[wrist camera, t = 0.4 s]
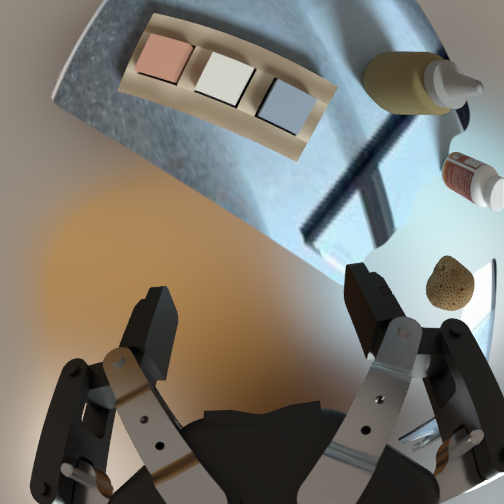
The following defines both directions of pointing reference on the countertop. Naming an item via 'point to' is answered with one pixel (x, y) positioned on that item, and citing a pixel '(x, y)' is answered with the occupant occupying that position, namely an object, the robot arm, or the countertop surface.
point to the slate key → (287, 106)
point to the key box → (243, 117)
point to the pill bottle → (474, 180)
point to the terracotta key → (164, 58)
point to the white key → (224, 78)
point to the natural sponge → (450, 285)
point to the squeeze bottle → (418, 83)
